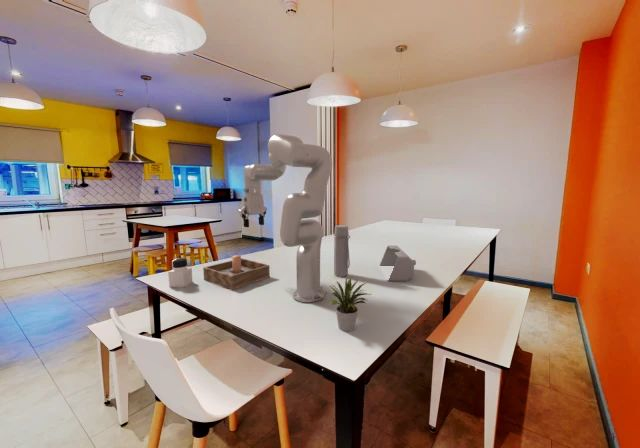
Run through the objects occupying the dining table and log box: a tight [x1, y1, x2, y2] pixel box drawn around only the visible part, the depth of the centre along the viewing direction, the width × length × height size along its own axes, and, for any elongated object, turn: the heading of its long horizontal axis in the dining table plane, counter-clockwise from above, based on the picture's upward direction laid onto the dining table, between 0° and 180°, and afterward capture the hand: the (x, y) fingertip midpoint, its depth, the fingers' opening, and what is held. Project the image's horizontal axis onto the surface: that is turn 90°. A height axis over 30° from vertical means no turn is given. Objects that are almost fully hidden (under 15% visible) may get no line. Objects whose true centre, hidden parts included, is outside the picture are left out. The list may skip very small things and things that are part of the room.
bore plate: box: [219, 266, 252, 276], centre depth 137 cm, size 14×14×2 cm
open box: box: [202, 257, 270, 291], centre depth 137 cm, size 22×22×6 cm
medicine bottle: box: [167, 257, 194, 288], centre depth 128 cm, size 7×7×12 cm
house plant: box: [329, 277, 372, 332], centre depth 88 cm, size 14×14×16 cm
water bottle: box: [333, 224, 351, 278], centre depth 140 cm, size 9×8×25 cm
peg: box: [231, 254, 242, 274], centre depth 137 cm, size 4×4×10 cm
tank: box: [379, 245, 417, 282], centre depth 144 cm, size 25×16×12 cm, turn 178°
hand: (254, 225), depth 141 cm, fingers open, 9 cm apart
